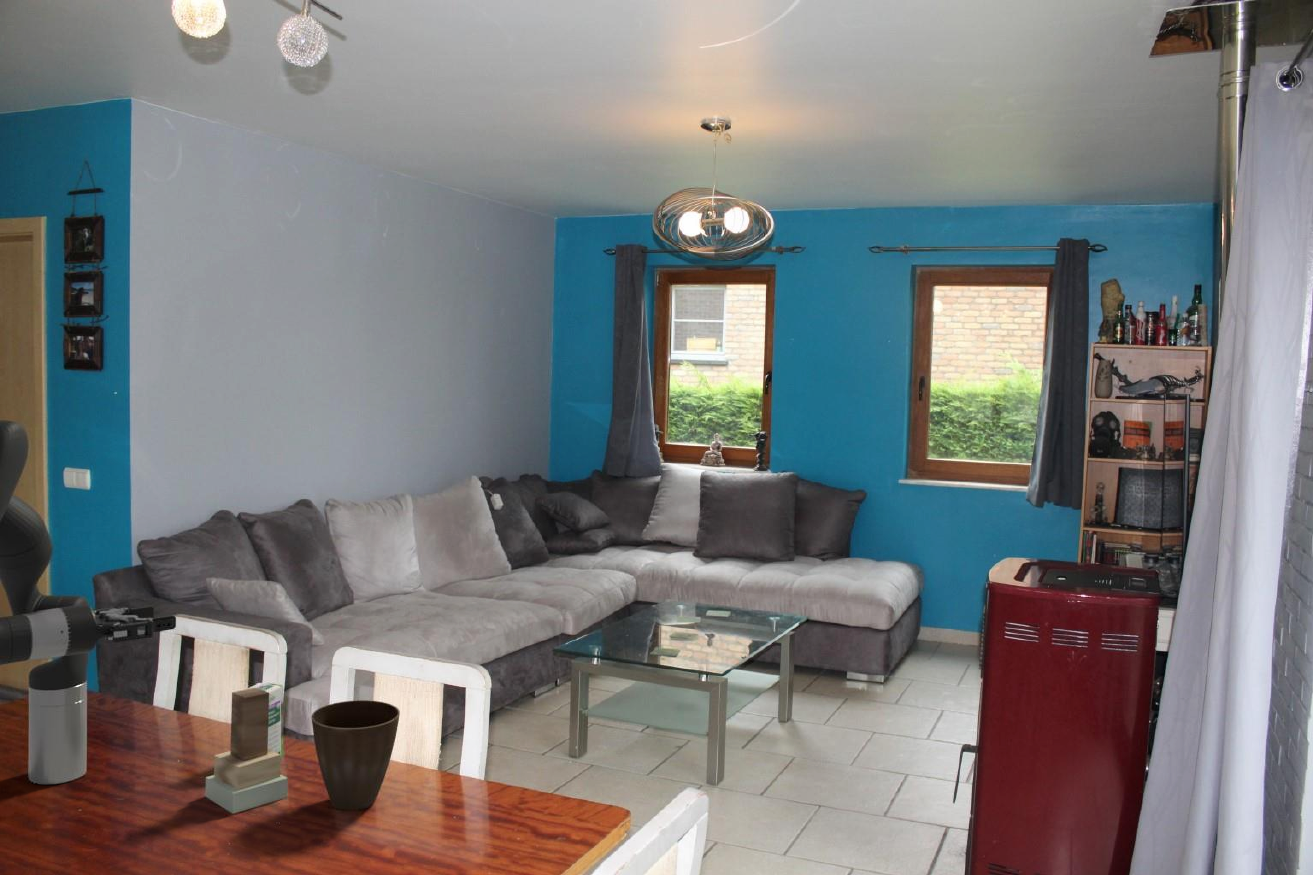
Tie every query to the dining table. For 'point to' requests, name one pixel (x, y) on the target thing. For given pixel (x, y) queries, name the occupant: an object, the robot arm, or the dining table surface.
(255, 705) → the walnut block
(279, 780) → the tower base
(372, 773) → the plant pot
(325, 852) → the dining table surface
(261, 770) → the tower top
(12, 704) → the dining table surface
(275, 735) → the syrup box
